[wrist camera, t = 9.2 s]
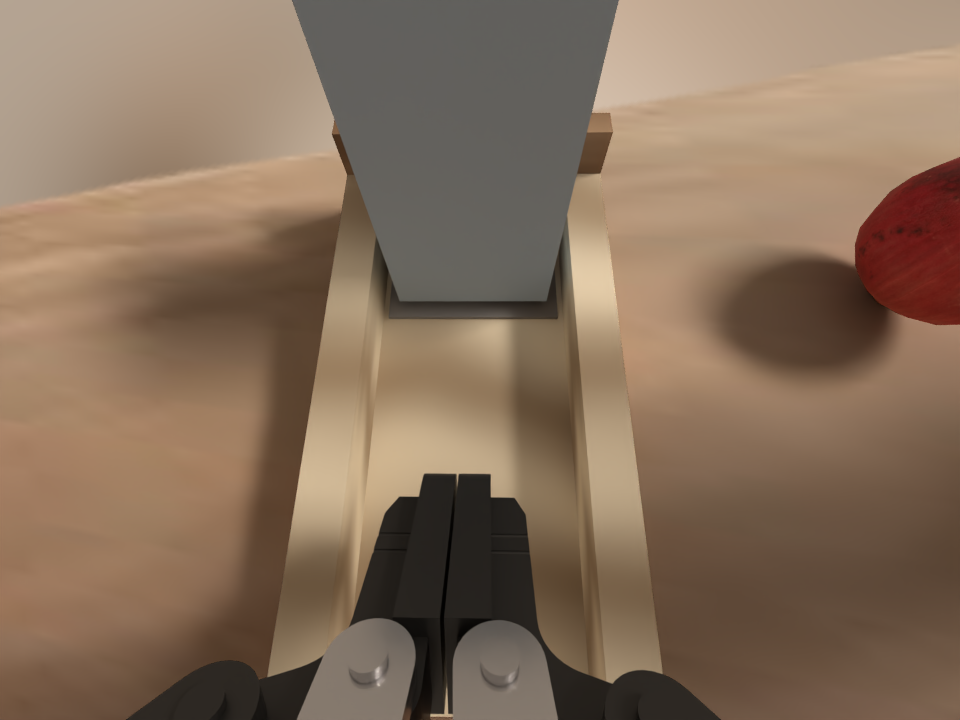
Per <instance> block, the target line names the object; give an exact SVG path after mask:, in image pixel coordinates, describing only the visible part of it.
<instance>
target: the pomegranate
mask: <svg viewBox="0 0 960 720" xmlns="http://www.w3.org/2000/svg"><path fill="white" fill-rule="evenodd" d="M855 266H856V269H857V272H858V275H859V277H860V279H861V281H862V282H863V284H864V286H865V288H866V290H867V291H868V292H869V293H870V294H871V295H872V296H873V297H874V299H875V300H876V302H878V303H879V304H881V305H883V306H886V307H887V308H889V309H891V310H892V311H894V312H896V313H898V314H900V315H903V316H905V317H908V318H912V319H915V320H919V321H923V322H927V323H931V324H934V325H960V157H959V158H956V159H954V160H951V161H949V162H946V163H944V164H941V165H939V166H936V167H934V168H931V169H929V170H927V171H925V172H922V173H920V174H918V175H916V176H913V177H911V178H910V179H908V180H907V181H905V182H904V183H902V184H901V185H899V186H898V187H896V188H895V189H893V190H892V191H890V192H889V194H888V195H887V196H886V197H885V198H884V199H883V200H882V202H881V203H880V204H879V205H878V206H877V207H876V208H875V210H874V211H873V212H872V213H871V215H870V216H869V217H868V218H867V220H866V221H865V222H864V223H863V225H862V226H861V227H860V229H859V233H858V236H857V240H856V243H855Z"/></svg>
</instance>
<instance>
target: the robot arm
mask: <svg viewBox="0 0 960 720" xmlns="http://www.w3.org/2000/svg"><path fill="white" fill-rule="evenodd" d="M446 688H447V696H448V714H453V720H721V719H720V718H718V717H717V716H716V715H715V714H714V713H713V712H712V711H711V710H709V709H708V708H707V707H706V706H705V705H704V704H703V703H702V702H701V701H699V700H698V699H697V698H696V697H695V696H694V695H693V694H692V693H691V692H689V691H688V690H687V689H686V688H685V687H683V686H682V685H681V684H680V683H678V682H676V681H675V680H673V679H672V678H670V677H668V676H665V675H663V674H661V673H657V672H654V671H648V670H635V671H631V672H627V673H625V674H623V675H621V676H620V677H619V678H617V679H616V680H615V681H614V682H613V684H612V683H609V682H607V681H604V680H601V679H598V678H596V677H593V676H590V675H587V674H585V673H582V672H580V671H577V670H575V669H573V668H571V667H570V666H568V665H566V664H565V663H563V662H562V661H561V660H560V659H558V658H557V657H556V656H555V655H554V654H553V653H552V652H551V650H550V649H549V648H548V646H547V645H546V643H545V642H544V640H543V638H542V636H541V633H540V630H539V627H538V621H537V613H536V604H535V594H534V585H533V576H532V567H531V558H530V549H529V540H528V531H527V521H526V514H525V513H524V511H523V510H522V508H521V507H520V505H519V504H518V502H517V501H516V499H515V498H503V497H491V474H459V476H458V485H457V474H441V473H424V475H423V479H422V484H421V488H420V493H419V497H404V496H399V497H398V499H397V500H396V501H395V502H394V503H393V504H392V505H391V506H390V508H389V509H388V510H387V511H386V512H385V514H384V517H383V520H382V524H381V527H380V530H379V536H378V537H377V540H376V543H375V546H374V552H373V553H372V556H371V559H370V562H369V566H368V569H367V572H366V575H365V579H364V582H363V585H362V588H361V592H360V595H359V598H358V601H357V604H356V608H355V611H354V614H353V617H352V620H351V623H350V625H349V627H348V628H347V629H345V630H344V631H343V632H341V633H340V634H339V635H338V636H337V637H336V638H335V639H334V640H333V641H332V643H331V644H330V646H329V647H328V648H327V650H326V652H325V654H324V655H323V656H321V657H320V658H318V659H317V660H315V661H313V662H311V663H309V664H307V665H304V666H302V667H299V668H296V669H293V670H289V671H286V672H283V673H280V674H276V675H273V676H270V677H267V678H263V679H260V680H258V677H257V675H256V673H255V671H254V670H253V669H252V668H251V667H250V666H248V665H246V664H245V663H242V662H239V661H230V660H228V661H220V662H216V663H211V664H209V665H206V666H204V667H201V668H199V669H197V670H195V671H194V672H192V673H190V674H189V675H187V676H186V677H184V678H183V679H181V680H180V681H179V682H177V683H176V684H174V685H173V686H172V687H170V688H169V689H168V690H166V691H165V692H163V693H162V694H161V695H159V696H158V697H157V698H155V699H154V700H152V701H151V702H150V703H148V704H147V705H146V706H144V707H143V708H141V709H140V710H139V711H137V712H136V713H135V714H133V715H132V716H130V717H129V718H128V719H126V720H430V714H444V712H445V700H446Z"/></svg>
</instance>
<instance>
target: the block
mask: <svg viewBox="0 0 960 720" xmlns="http://www.w3.org/2000/svg"><path fill="white" fill-rule="evenodd" d="M618 1H619V0H292V2H293V5H294V7H295V10H296V13H297V16H298V18H299V21H300V24H301V27H302V30H303V33H304V35H305V37H306V41H307V44H308V46H309V49H310V52H311V55H312V58H313V60H314V63H315V66H316V69H317V72H318V74H319V77H320V80H321V83H322V85H323V88H324V91H325V94H326V97H327V99H328V102H329V105H330V108H331V111H332V114H333V116H334V119H335V122H336V125H337V128H338V130H339V133H340V136H341V139H342V142H343V144H344V147H345V150H346V153H347V156H348V158H349V161H350V164H351V167H352V169H353V172H354V175H355V178H356V181H357V183H358V186H359V189H360V192H361V195H362V197H363V200H364V203H365V206H366V209H367V211H368V214H369V217H370V220H371V223H372V225H373V228H374V231H375V234H376V237H377V239H378V242H379V245H380V248H381V251H382V253H383V256H384V259H385V262H386V265H387V267H388V270H389V273H390V276H391V279H392V281H393V284H394V287H395V290H396V292H397V295H398V298H399V301H546V300H547V296H548V292H549V288H550V284H551V280H552V276H553V271H554V267H555V263H556V259H557V255H558V251H559V246H560V242H561V238H562V234H563V230H564V226H565V221H566V217H567V213H568V209H569V205H570V201H571V196H572V192H573V188H574V184H575V180H576V176H577V171H578V167H579V163H580V159H581V155H582V151H583V147H584V142H585V138H586V134H587V130H588V126H589V122H590V117H591V113H592V109H593V105H594V101H595V97H596V92H597V88H598V84H599V80H600V76H601V71H602V67H603V63H604V59H605V55H606V51H607V47H608V42H609V38H610V34H611V30H612V25H613V22H614V18H615V13H616V9H617V5H618Z"/></svg>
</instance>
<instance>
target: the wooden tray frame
mask: <svg viewBox="0 0 960 720" xmlns="http://www.w3.org/2000/svg"><path fill="white" fill-rule="evenodd" d="M612 133H613V130H612V123H611V116H610V113H591V117H590V122H589V126H588V130H587V134H586V138H585V142H584V147H583V151H582V155H581V159H580V163H579V167H578V171H577V176H576V180H575V184H574V188H573V192H572V196H571V201H570V205H569V209H568V213H567V217H566V221H565V226H564V230H563V234H562V238H561V242H560V246H559V251H558V255H557V259H556V263H555V267H554V271H553V276H552V280H551V284H550V288H549V292H548V296H547V300H546V301H399V298H398V295H397V292H396V290H395V287H394V284H393V281H392V279H391V276H390V273H389V270H388V267H387V265H386V262H385V259H384V256H383V253H382V251H381V248H380V245H379V242H378V239H377V237H376V234H375V231H374V228H373V225H372V223H371V220H370V217H369V214H368V211H367V209H366V206H365V203H364V200H363V197H362V195H361V192H360V189H359V186H358V183H357V181H356V178H355V175H354V172H353V169H352V167H351V164H350V161H349V158H348V156H347V153H346V150H345V147H344V144H343V142H342V139H341V136H340V133H339V130H338V128H337V125H336V122H335V121H334V127H333V131H332V135H333V138H334V141H335V143H336V146H337V149H338V152H339V154H340V157H341V160H342V162H343V165H344V167H345V170H346V173H347V180H346V187H345V193H344V199H343V205H342V212H341V218H340V224H339V230H338V237H337V243H336V249H335V255H334V262H333V268H332V274H331V281H330V287H329V293H328V299H327V306H326V312H325V318H324V324H323V331H322V337H321V343H320V349H319V356H318V362H317V368H316V374H315V381H314V387H313V393H312V400H311V406H310V412H309V418H308V425H307V431H306V437H305V443H304V450H303V456H302V462H301V468H300V475H299V481H298V487H297V494H296V500H295V506H294V512H293V519H292V525H291V531H290V537H289V544H288V550H287V556H286V562H285V569H284V575H283V581H282V588H281V594H280V600H279V606H278V613H277V619H276V625H275V631H274V638H273V644H272V650H271V656H270V663H269V669H268V675H267V677H270V676H273V675H276V674H280V673H283V672H286V671H289V670H293V669H296V668H299V667H302V666H304V665H307V664H309V663H311V662H313V661H315V660H317V659H318V658H320V657H321V656H323V655H324V654H325V652H326V650H327V648H328V647H329V646H330V644H331V643H332V641H333V640H334V639H335V638H336V637H337V636H338V635H339V634H340V633H341V632H343V631H344V630H345V629H347V628H348V627H349V625H350V623H351V620H352V617H353V614H354V611H355V608H356V604H357V601H358V598H359V595H360V592H361V588H362V585H363V582H364V579H365V575H366V572H367V569H368V566H369V562H370V559H371V556H372V553H373V552H374V546H375V543H376V540H377V537H378V536H379V530H380V527H381V524H382V520H383V517H384V514H385V512H386V511H387V510H388V509H389V508H390V506H391V505H392V504H393V503H394V502H395V501H396V500H397V499H398V497H399V496H404V497H419V493H420V488H421V484H422V479H423V475H424V473H441V474H457V485H458V476H459V474H491V497H503V498H515V499H516V501H517V502H518V504H519V505H520V507H521V508H522V510H523V511H524V513H525V514H526V521H527V531H528V540H529V549H530V558H531V567H532V576H533V585H534V594H535V604H536V613H537V621H538V627H539V630H540V633H541V636H542V638H543V640H544V642H545V643H546V645H547V646H548V648H549V649H550V650H551V652H552V653H553V654H554V655H555V656H556V657H557V658H558V659H560V660H561V661H562V662H563V663H565V664H566V665H568V666H570V667H571V668H573V669H575V670H577V671H580V672H582V673H585V674H587V675H590V676H593V677H596V678H598V679H601V680H604V681H607V682H609V683H612V684H613V682H614V681H615V680H616V679H617V678H619V677H620V676H621V675H623V674H625V673H627V672H631V671H635V670H648V671H654V672H657V673H661V674H663V671H662V663H661V655H660V647H659V639H658V631H657V623H656V615H655V607H654V599H653V591H652V583H651V575H650V567H649V559H648V551H647V543H646V535H645V527H644V519H643V511H642V503H641V495H640V487H639V479H638V471H637V463H636V455H635V447H634V439H633V431H632V423H631V415H630V407H629V399H628V391H627V383H626V375H625V367H624V359H623V351H622V343H621V335H620V327H619V319H618V311H617V303H616V295H615V287H614V279H613V271H612V263H611V255H610V247H609V239H608V231H607V223H606V215H605V207H604V199H603V191H602V183H601V175H600V173H601V170H602V166H603V163H604V160H605V156H606V153H607V150H608V146H609V143H610V140H611V137H612ZM430 717H453V714H448V696H447V688H446V700H445V712H444V714H430Z"/></svg>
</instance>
